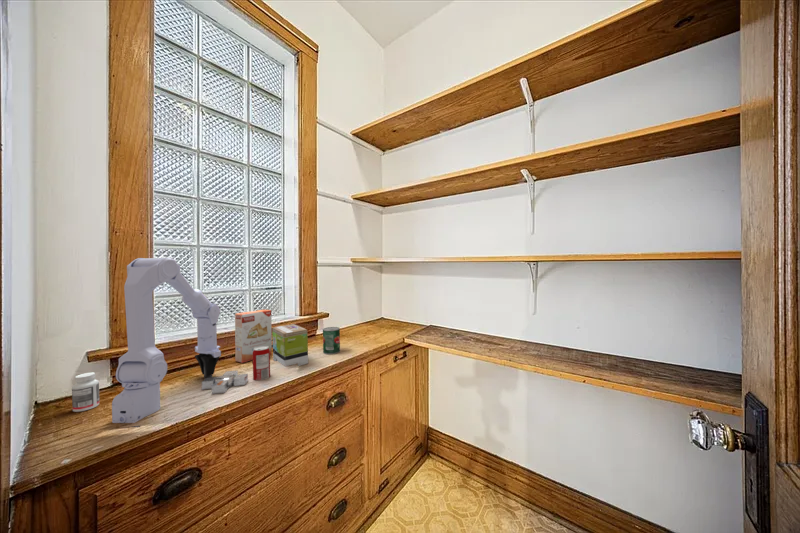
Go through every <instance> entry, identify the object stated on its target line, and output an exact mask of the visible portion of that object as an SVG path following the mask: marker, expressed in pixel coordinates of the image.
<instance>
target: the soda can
mask: <svg viewBox="0 0 800 533" xmlns="http://www.w3.org/2000/svg"><path fill="white" fill-rule="evenodd" d="M270 377H271V355H270V350H269V347H268V346H260V347H256V348H254V350H253V360H252V379H253V380H254V381H262V380H266V379H269V378H270Z"/></svg>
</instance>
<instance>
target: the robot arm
mask: <svg viewBox="0 0 800 533" xmlns="http://www.w3.org/2000/svg"><path fill="white" fill-rule="evenodd" d="M126 276H127V277H126V280H125V283H124V286H123V287H124V288H123V289H124V303H125V304H124V305H125V319H126V320H125V321H126V322H125V323H126V338H127V339H126V341H127V352H126V353H124V354H123V355H121V356H120V357H119V358H118V366H117V368H116V371H115V379H116V380H117V382H119V383H121V387H122V388H123V389H122V391H121V392H119V394H117V395H115V396H114V398H113V399H112V402H111V417H112V418H111V420H112V421H111V423H113V424H135V423H137V422H139V421H141V420H143V419H144V418H146V417H148V416H151V415H152V414H155V413H157V412H158V411H159V410H160V409H161V382H163V380H164V378H165V376H166V375H167V373H168V363H167V361H166V360H165V356H164V355H165V354H164V353H163V352H162V351H161V350H160V349H158V348H157V347H156V340H155V339H156V338H155V324H154V323H155V321H154V320H155V318H154V306H153V305H154V302H153V291H154V290H155V289H157V288H158V287H159V286H161V285H163V284H164V283H167V284H168V285H169V286H170V287H171V288H173V289H174V290H175V291H176V292H178V293H179V294H180V295H181V296H182V298H181V300H182V302H183V303H184V304H185V305H186V306H187V307H188V308H189V309H190V311H191V313H192V317H193V318H195V319H196V321H197V322H196V324H197V325H196V327H197V329H196V330H197V331H196V332H197V345H196V346H194V352H195V353H197V354H196V355H194V358H195V359H196V361H197V362H198V365H199V368H200V371H201V374H202V375H204V366H205V372H206V376H209V375H212V376H213V375H214V374H215V370H216V367H217V366H216V365H217V363H218V361H219V359H220V358H221V356H222V350H220V348H221V346H220V345H218V340H217V336H218V335H217V327H218V326H217V324H218V321H219V316H220V315H221V309H220V307H219V305H218V304H217V303H214V302H211V301H210V300H209V298H208V297H206V295H205V294H204V293H203V290H201V289H198V288H193V287H192V286H191V284H190V283H189V281H188V280H187V279H186V278H185V276H184V275H183V274H182V273H181V265H180V264H178V263H177V261H176V260H175V259H174V258H172V257H169V256H167V257H157V258H156V257H155V258H154V257H153V258H150V257H148V258H144V257H138V258H136V259H133V260H132V261H131V262H130V263H129V264H127V265H126ZM132 427H133V428H136V427H137V428H138V427H140V425H135V426H132Z"/></svg>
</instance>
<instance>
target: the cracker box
mask: <svg viewBox="0 0 800 533" xmlns="http://www.w3.org/2000/svg"><path fill="white" fill-rule="evenodd" d="M234 326H235V327H234V334H235V336H234V337H235V338H234V341H235V342H234V343H235V345H234V346H235V347H234V350H235V354H234V356H235V357H234V358H235V362H239V363H241V364H243V363H246V362H250V361H253V350H254V348H256V347H260V346H268V347H269V350H270V356H271V355H273V336H272V310H271V309H260V310H251V311H250V310H249V311H244V312H238V313H237V312H236V313H235V314H234Z"/></svg>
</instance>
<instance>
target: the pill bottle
mask: <svg viewBox="0 0 800 533" xmlns="http://www.w3.org/2000/svg"><path fill="white" fill-rule="evenodd" d="M74 382H75V383H74V384H73V385H72V386H71V398H72V399H71V401H72V402H71V403H72V404H71V405H72V406H71V407H72V412H74V413H75V412H76V413H79V412H80V413H81V412H85V411H89V410H92V409H94V408H96V407H98V406H99V405H100V401H101V400H100V380H98V379H96V372H95V371H94V372H93V371H92V372H85V373H81V374H79V375H75V376H74Z"/></svg>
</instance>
